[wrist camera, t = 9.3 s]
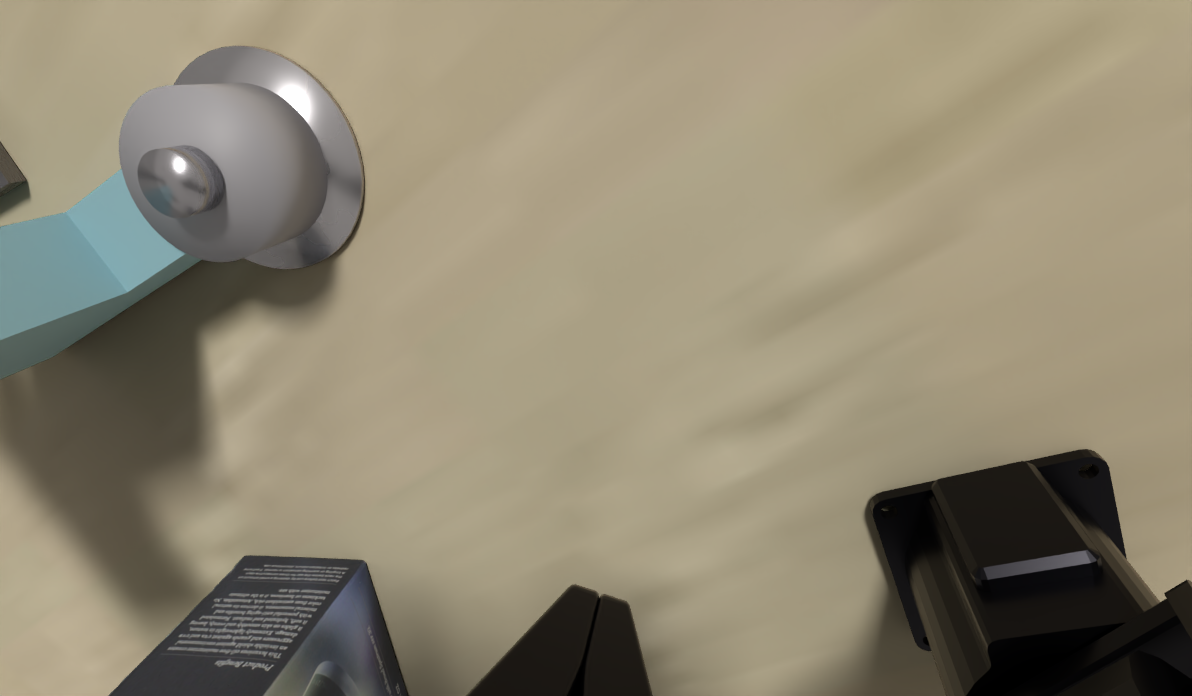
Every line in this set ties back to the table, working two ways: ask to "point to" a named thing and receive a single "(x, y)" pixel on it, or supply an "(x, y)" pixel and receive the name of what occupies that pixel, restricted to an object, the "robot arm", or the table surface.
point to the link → (158, 216)
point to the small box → (277, 636)
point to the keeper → (8, 173)
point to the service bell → (195, 183)
